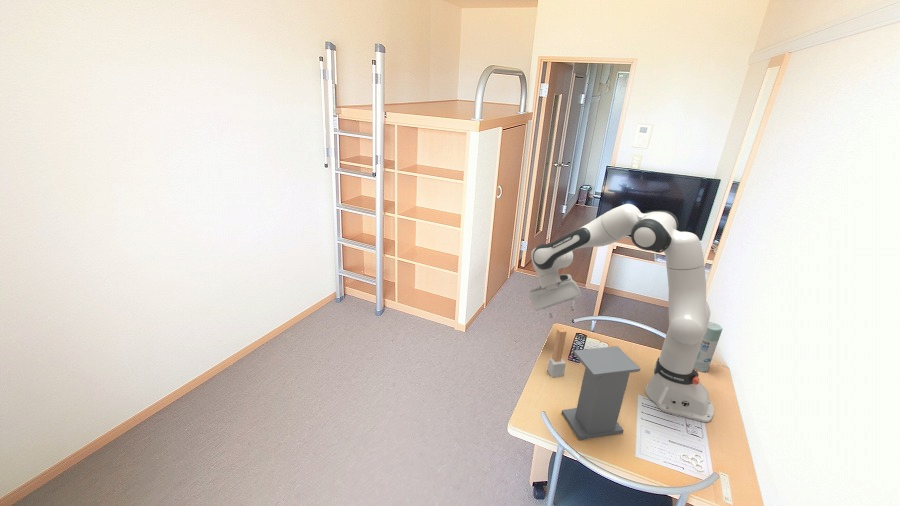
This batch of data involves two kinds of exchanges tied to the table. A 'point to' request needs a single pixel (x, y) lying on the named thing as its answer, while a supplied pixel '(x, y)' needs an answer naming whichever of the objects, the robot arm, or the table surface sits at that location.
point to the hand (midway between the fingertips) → (562, 314)
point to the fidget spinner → (694, 462)
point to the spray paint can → (708, 347)
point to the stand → (600, 392)
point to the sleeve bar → (557, 355)
